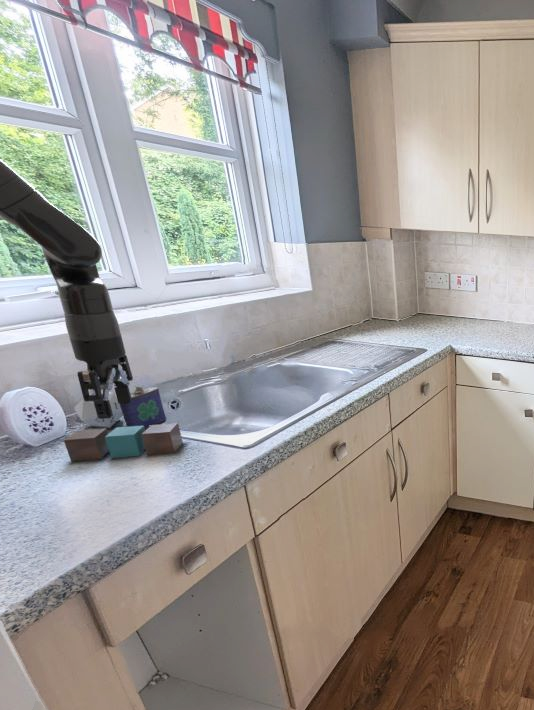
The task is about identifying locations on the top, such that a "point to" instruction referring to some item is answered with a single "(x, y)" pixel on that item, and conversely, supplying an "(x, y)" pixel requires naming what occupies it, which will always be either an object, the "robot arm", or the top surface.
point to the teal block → (126, 441)
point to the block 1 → (87, 445)
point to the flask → (144, 408)
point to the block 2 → (162, 438)
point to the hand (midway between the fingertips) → (116, 410)
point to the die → (90, 415)
